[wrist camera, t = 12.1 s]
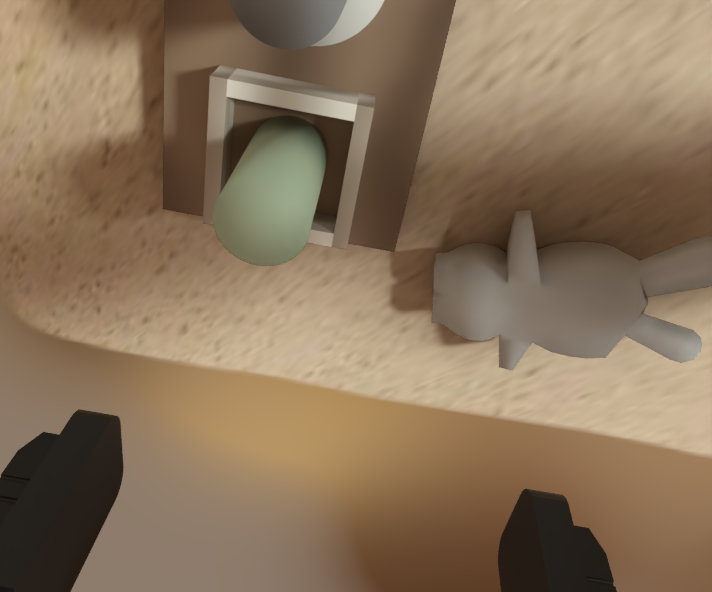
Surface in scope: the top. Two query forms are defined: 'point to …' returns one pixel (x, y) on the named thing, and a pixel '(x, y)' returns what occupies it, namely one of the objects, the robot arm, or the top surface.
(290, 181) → the green pin
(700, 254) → the bunny figurine
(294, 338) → the top surface
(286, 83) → the board
